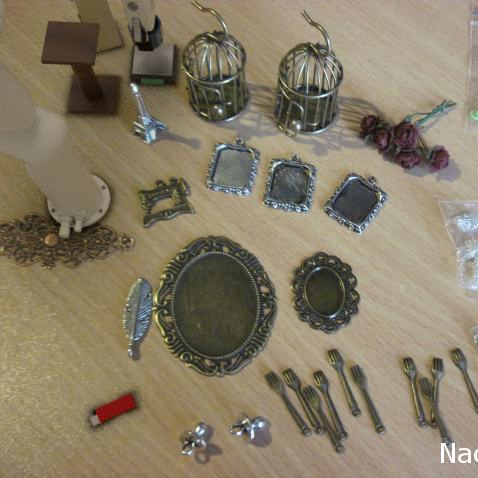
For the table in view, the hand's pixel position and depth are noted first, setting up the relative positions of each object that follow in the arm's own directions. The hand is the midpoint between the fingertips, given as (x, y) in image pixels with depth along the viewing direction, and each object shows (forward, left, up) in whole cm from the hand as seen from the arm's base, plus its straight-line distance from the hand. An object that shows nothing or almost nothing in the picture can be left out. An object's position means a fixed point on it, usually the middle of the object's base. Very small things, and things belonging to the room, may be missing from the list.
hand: (147, 35), depth 123 cm
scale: (0, 0, -10) cm, 10 cm away
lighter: (-79, +2, -10) cm, 80 cm away
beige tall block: (+8, +13, -10) cm, 18 cm away
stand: (-9, +13, -10) cm, 19 cm away
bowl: (0, 0, -1) cm, 1 cm away
